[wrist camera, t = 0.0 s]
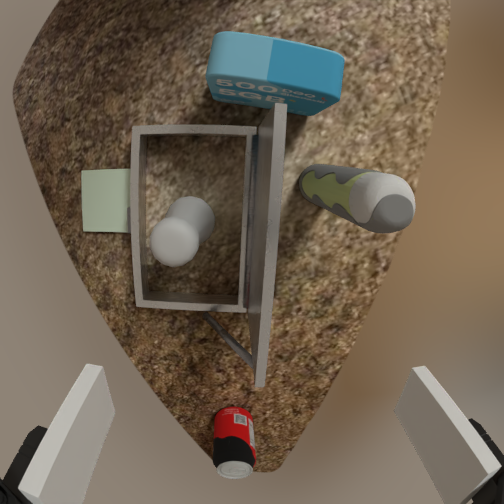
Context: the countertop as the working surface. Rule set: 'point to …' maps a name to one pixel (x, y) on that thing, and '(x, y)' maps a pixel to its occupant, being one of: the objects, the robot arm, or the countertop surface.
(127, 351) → the countertop surface
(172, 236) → the salt shaker
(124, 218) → the pad
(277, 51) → the data package
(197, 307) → the case
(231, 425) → the beverage can
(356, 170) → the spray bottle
